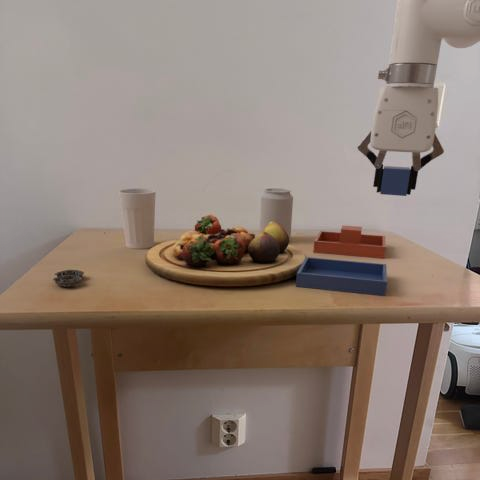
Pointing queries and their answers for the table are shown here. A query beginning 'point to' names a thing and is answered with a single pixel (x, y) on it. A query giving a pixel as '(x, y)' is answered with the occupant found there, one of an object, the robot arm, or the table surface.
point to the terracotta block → (350, 234)
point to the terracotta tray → (350, 245)
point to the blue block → (395, 180)
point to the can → (276, 208)
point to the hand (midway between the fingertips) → (393, 191)
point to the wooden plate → (226, 256)
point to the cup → (138, 217)
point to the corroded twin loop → (68, 277)
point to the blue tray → (342, 276)
